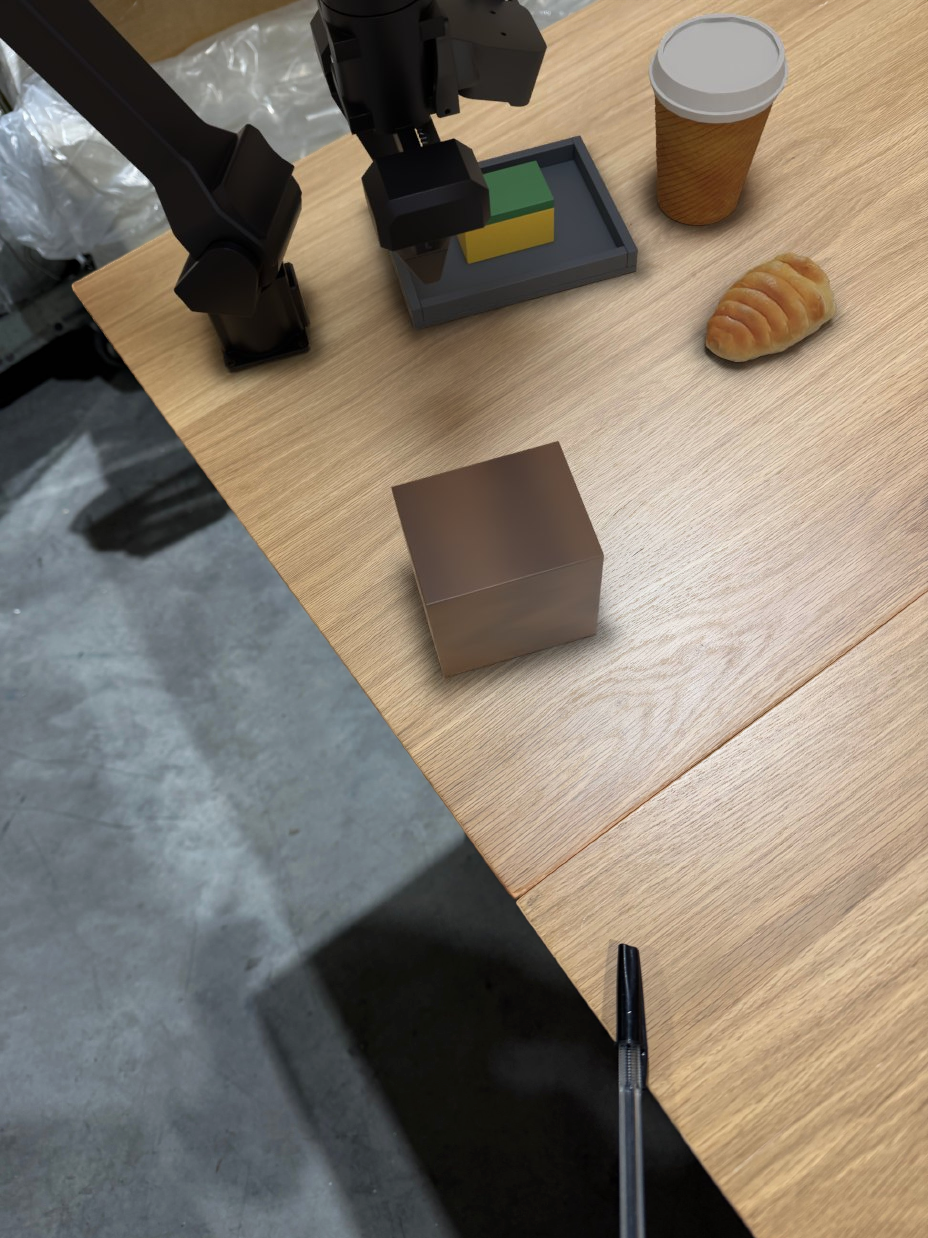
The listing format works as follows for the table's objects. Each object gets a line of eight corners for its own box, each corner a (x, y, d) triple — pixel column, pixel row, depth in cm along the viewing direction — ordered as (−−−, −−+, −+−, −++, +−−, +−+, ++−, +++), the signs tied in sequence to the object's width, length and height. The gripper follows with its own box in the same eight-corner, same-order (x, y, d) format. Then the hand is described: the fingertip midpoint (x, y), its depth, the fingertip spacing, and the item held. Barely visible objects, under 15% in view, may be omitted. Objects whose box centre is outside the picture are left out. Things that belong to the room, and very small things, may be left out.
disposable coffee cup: (778, 178, 77) (815, 30, 66) (725, 256, 74) (755, 113, 63) (670, 142, 80) (689, -6, 69) (615, 216, 76) (625, 72, 66)
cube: (444, 678, 60) (425, 606, 51) (413, 571, 64) (390, 486, 55) (596, 634, 61) (604, 555, 52) (557, 530, 64) (558, 440, 55)
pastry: (747, 388, 68) (757, 351, 65) (679, 335, 71) (686, 296, 67) (839, 319, 70) (853, 279, 67) (769, 270, 73) (780, 229, 69)
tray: (414, 330, 73) (411, 310, 71) (374, 210, 79) (370, 189, 77) (636, 271, 74) (638, 249, 72) (579, 157, 80) (580, 134, 78)
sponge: (467, 264, 75) (463, 222, 71) (452, 225, 77) (448, 182, 73) (554, 241, 75) (554, 198, 71) (536, 203, 77) (536, 159, 73)
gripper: (587, 53, 44) (579, 301, 58) (478, -150, 53) (493, 110, 67) (354, 113, 44) (402, 349, 58) (281, -102, 52) (338, 150, 66)
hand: (414, 231), depth 62 cm, fingers open, 9 cm apart
